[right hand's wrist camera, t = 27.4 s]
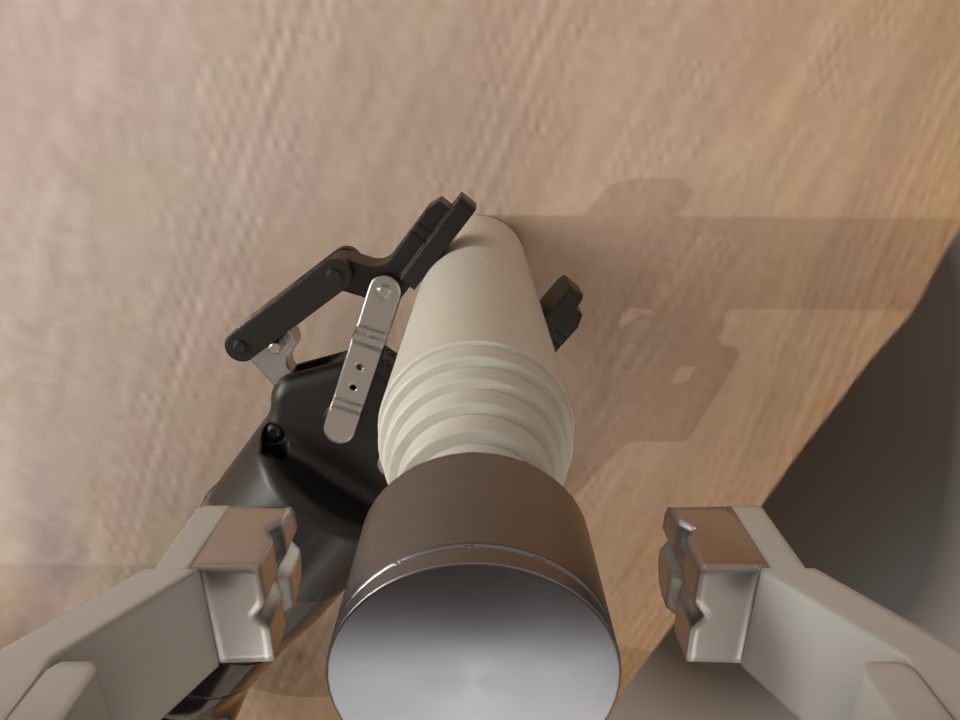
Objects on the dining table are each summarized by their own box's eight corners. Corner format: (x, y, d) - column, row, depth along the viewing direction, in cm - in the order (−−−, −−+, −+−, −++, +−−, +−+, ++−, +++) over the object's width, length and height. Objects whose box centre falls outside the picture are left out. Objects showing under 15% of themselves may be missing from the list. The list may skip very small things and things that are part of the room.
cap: (321, 576, 11) (274, 713, 8) (436, 408, 10) (421, 511, 7) (507, 665, 12) (515, 815, 9) (634, 519, 10) (683, 647, 8)
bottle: (417, 232, 29) (259, 550, 8) (509, 202, 29) (590, 459, 8) (448, 318, 31) (383, 770, 10) (535, 292, 31) (663, 707, 9)
